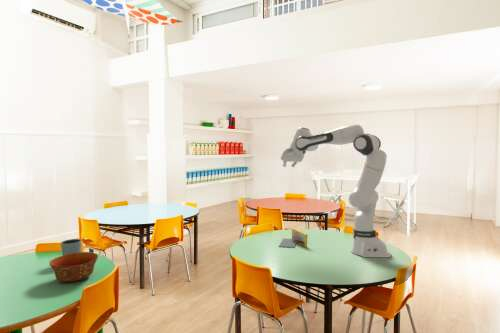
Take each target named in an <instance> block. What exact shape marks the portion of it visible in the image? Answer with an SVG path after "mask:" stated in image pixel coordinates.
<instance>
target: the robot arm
mask: <svg viewBox="0 0 500 333" xmlns="http://www.w3.org/2000/svg"><path fill="white" fill-rule="evenodd" d="M352 143H353V145H352V146H353V147H354V150H356V151H357V152H358V153H360V154H361V155H363V156H366V159H365V163H364V166H363V169H362V170H361V171H362V172H361V175H360V178H359V179H358V181H357V183H356V185H355V187H354V189H353V190H352V192H351V193H350V194H349V196H348V202H349V204H350V205H351V206H352V207H353V208H356V211H355V214H354V216H353V218H354V219H353V220H354V221H353V222H354V223H353V226H354V227H353V231H352V235H353V242H352V247H351V250H350V252H351V253H352V254H354V255H358V256H360V257H364V258H390V257H391V256H392V252H391V251H389V249H388V247H387V245H386V243H385V242H384V240H382V239H380V237H378V236H379V232H377V231H376V229H374V221H375V219H374V217H375V212H376V207H377V202H378V200H379V193H378V191H377V190H376V188H377V187H378V185H379V184H380V181H381V179H382V177H383V174H384V170H385V167H386V162H387V154H386V151H384V150H382V149H380V148H381V146H382V144H381V139H380V138H379V137H378V136H376V135H373V134H371V133H365V131H364V128H363V127H362V126H361V125H360V124H351V125H345V126H341V127H338V128H335V129H333V130H330V131H327V132H324V133H319V134H315V135H313V133H311V130H310V129H309V128H306V127H302V126H301V127H298V128H297V130H296V131H295V134H294V136H293V140H292V141H291V143H290V146H289V148H286V149H285V150H284V151H283V152H282V154H281V156H280V160H281V161H282V162H283V165H282V166H283V167H285V168H286V167H287V162H290V163H291V162H293V163H292V164H291V167H292V168H295V167H296V165H297V164H298V163H301V162H302V161H303V160H304V157H305V154H306V153H307V152H313V151H316V150H317V149H318V148H319V145H334V146H335V145H337V146H341V145H343V146H344V145H347V144H348V145H349V144H352Z"/></svg>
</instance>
